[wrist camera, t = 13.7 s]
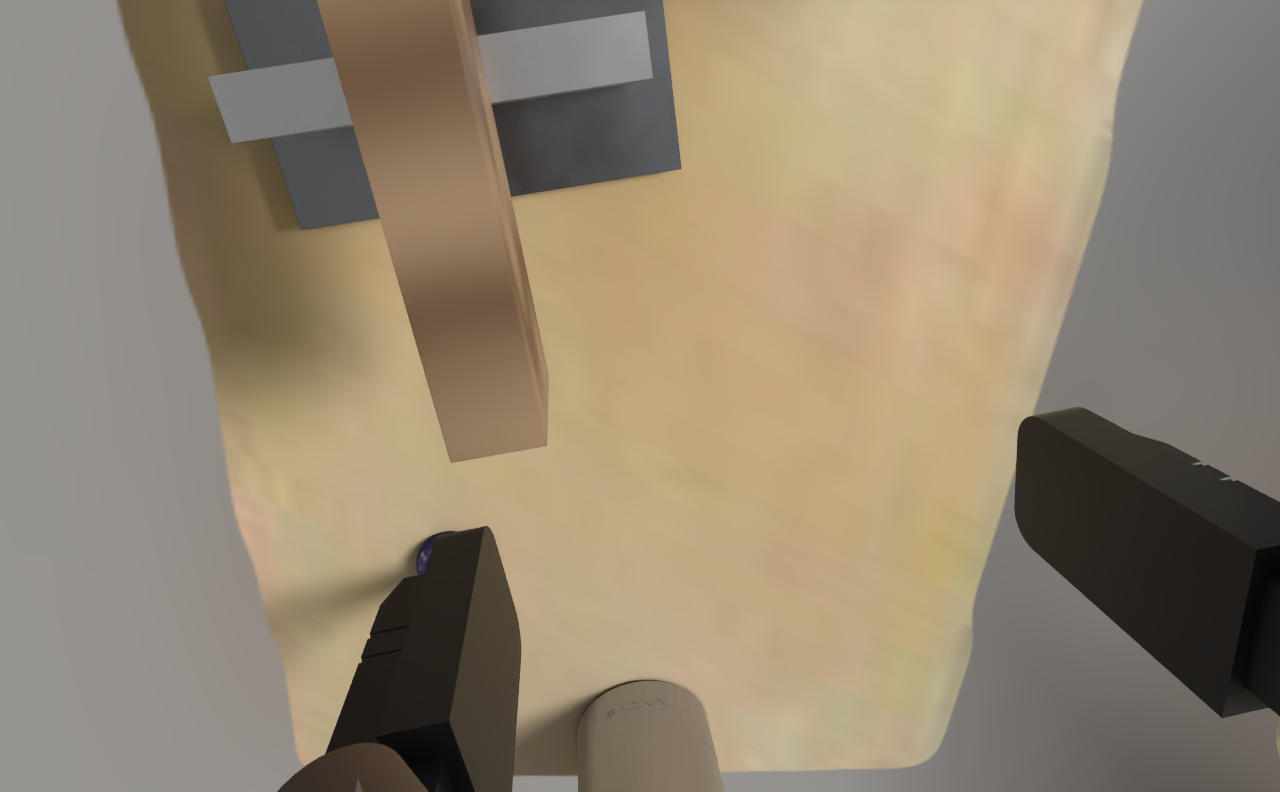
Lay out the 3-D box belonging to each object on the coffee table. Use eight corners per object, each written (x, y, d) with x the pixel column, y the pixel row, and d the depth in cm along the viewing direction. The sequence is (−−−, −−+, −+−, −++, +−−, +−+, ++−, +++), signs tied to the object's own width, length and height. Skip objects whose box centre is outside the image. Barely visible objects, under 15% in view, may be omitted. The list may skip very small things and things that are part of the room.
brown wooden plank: (270, -382, 18) (145, -594, 12) (386, -395, 18) (312, -612, 13) (472, 389, 27) (450, 462, 21) (548, 375, 27) (546, 445, 21)
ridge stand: (677, 166, 34) (722, 190, 25) (309, 226, 33) (216, 273, 24) (650, -73, 30) (691, -149, 21) (231, -12, 29) (83, -64, 20)
